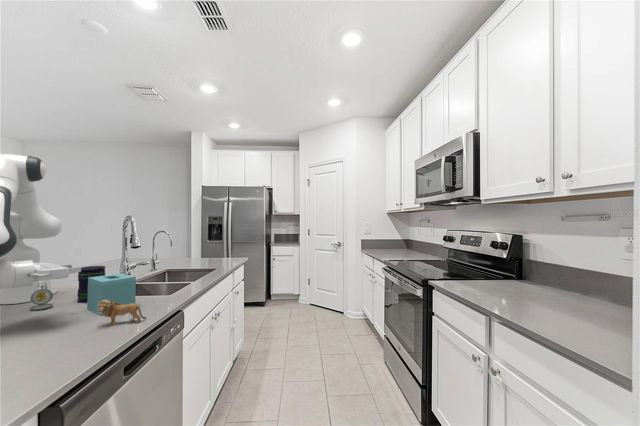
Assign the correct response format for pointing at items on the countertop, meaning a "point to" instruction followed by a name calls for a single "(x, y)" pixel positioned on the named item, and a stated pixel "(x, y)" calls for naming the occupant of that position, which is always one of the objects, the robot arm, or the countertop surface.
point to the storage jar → (83, 280)
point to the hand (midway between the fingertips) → (75, 268)
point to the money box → (111, 290)
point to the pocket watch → (40, 294)
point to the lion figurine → (118, 310)
